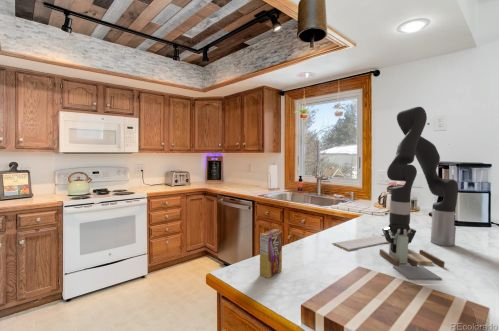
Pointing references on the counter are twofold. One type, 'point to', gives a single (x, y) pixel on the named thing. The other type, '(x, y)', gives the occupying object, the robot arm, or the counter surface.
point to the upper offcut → (420, 259)
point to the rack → (411, 260)
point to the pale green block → (400, 248)
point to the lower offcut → (425, 264)
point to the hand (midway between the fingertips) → (398, 252)
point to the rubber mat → (417, 273)
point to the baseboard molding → (361, 242)
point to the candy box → (270, 253)
